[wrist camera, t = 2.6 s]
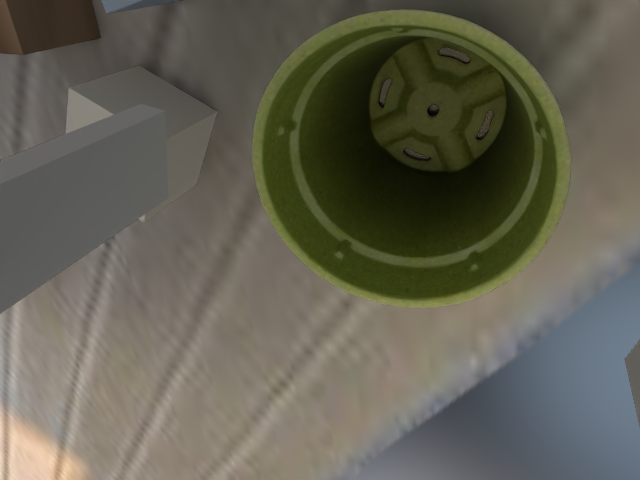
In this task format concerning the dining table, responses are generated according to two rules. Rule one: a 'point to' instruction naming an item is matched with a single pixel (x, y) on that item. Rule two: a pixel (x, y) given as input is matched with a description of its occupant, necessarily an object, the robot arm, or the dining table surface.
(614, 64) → the dining table surface
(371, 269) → the plant pot
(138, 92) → the cream block
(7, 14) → the walnut block
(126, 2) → the slate blue block
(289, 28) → the dining table surface
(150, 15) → the dining table surface
